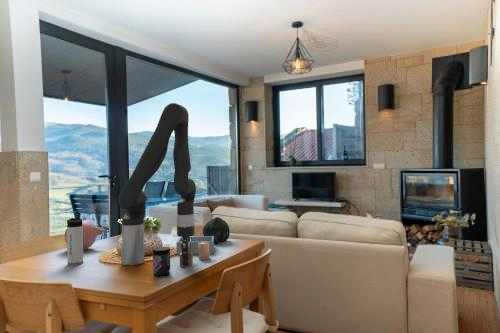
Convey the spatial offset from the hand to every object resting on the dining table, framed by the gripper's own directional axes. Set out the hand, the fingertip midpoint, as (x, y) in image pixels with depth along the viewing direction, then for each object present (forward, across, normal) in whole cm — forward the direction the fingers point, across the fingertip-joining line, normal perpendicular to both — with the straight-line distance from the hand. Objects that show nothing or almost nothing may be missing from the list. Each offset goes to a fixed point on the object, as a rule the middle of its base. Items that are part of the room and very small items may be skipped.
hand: (186, 263), depth 156 cm
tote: (0, -26, +2) cm, 26 cm away
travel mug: (+1, -8, -50) cm, 51 cm away
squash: (+1, -46, +12) cm, 48 cm away
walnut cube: (0, 0, 0) cm, 0 cm away
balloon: (+1, -36, -56) cm, 67 cm away
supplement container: (+1, +14, -8) cm, 16 cm away
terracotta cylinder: (0, -10, +7) cm, 12 cm away
